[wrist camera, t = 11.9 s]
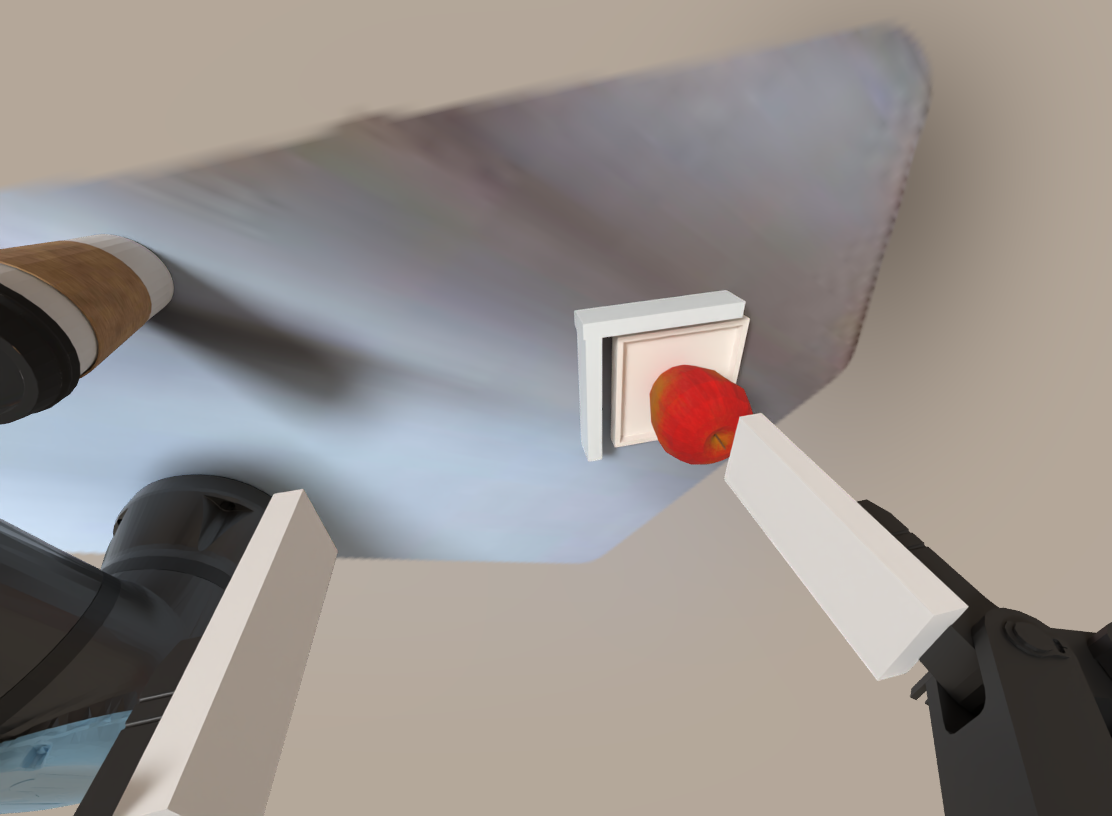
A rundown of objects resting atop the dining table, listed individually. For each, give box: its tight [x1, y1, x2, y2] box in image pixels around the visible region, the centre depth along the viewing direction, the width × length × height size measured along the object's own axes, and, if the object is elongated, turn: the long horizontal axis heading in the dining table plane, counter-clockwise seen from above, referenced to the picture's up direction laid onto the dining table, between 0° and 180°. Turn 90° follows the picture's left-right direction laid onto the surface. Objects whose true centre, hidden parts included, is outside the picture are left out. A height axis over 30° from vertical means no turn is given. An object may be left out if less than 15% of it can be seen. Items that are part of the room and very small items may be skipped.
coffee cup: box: [0, 234, 174, 424], centre depth 26 cm, size 8×8×15 cm
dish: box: [611, 314, 750, 447], centre depth 47 cm, size 14×14×2 cm
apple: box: [649, 365, 753, 464], centre depth 42 cm, size 9×9×12 cm
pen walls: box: [574, 290, 745, 462], centre depth 45 cm, size 16×17×4 cm
